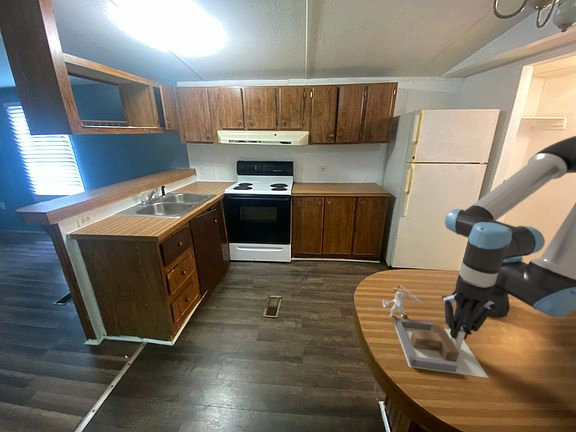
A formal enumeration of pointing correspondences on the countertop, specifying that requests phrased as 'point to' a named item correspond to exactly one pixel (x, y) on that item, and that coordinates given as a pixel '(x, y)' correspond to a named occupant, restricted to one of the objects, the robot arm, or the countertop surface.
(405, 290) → the silver tweezers
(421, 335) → the t block
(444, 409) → the countertop surface
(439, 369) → the board
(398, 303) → the figurine
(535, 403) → the countertop surface
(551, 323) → the countertop surface
